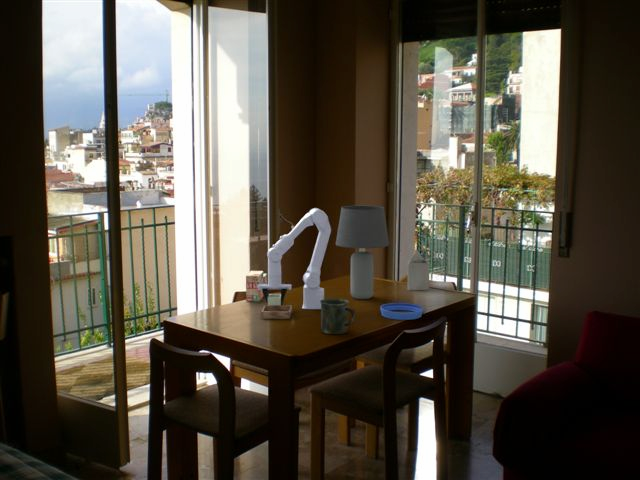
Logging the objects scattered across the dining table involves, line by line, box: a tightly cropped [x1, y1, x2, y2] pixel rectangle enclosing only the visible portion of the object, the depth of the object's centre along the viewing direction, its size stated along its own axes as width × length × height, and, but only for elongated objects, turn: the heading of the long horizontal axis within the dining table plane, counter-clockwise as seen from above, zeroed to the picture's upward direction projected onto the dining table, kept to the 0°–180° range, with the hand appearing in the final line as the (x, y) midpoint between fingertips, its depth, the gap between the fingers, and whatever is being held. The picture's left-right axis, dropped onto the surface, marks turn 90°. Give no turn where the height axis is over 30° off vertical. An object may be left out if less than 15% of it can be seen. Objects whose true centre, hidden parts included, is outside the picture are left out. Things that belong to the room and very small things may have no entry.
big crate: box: [260, 304, 293, 320], centre depth 292 cm, size 12×12×3 cm
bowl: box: [380, 302, 424, 321], centre depth 293 cm, size 18×18×4 cm
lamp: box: [335, 205, 390, 300], centre depth 324 cm, size 25×25×43 cm
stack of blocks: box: [245, 270, 268, 302], centre depth 328 cm, size 21×6×12 cm, turn 174°
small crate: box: [268, 293, 281, 305], centre depth 303 cm, size 6×8×6 cm
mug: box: [320, 297, 356, 335], centre depth 266 cm, size 11×15×12 cm
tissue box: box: [407, 249, 431, 291], centre depth 346 cm, size 16×8×19 cm, turn 143°
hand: (274, 305), depth 303 cm, fingers closed on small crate, 5 cm apart
